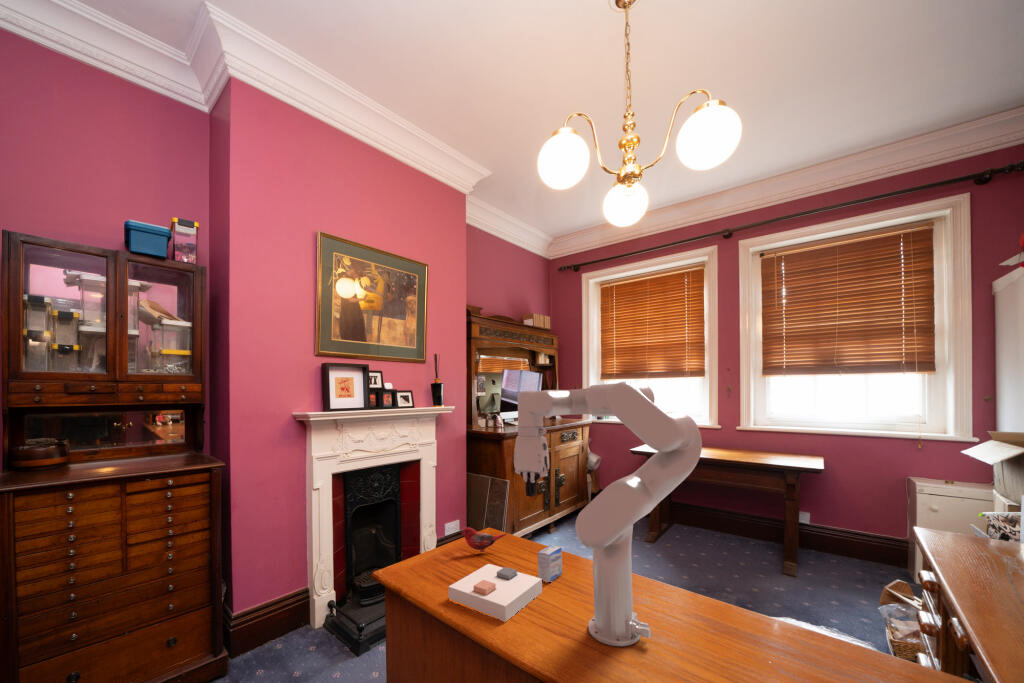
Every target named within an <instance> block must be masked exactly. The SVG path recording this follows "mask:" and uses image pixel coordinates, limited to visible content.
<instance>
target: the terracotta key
mask: <svg viewBox="0 0 1024 683" xmlns="http://www.w3.org/2000/svg"><path fill="white" fill-rule="evenodd" d="M495 590H496V584H495V583H492V582H489V581H486V580H482V581H480V582H479V583H477V584H476V585H474V592H476V593H479V594H482V595H484V596H487V595H489V594H490V593H492V592H493V591H495Z"/></svg>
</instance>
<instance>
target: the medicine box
mask: <svg viewBox="0 0 1024 683" xmlns="http://www.w3.org/2000/svg"><path fill="white" fill-rule="evenodd" d="M562 550H563V549H562V547H560V546H558V545H553V544H550V545H548V546H546V547H545V548H543V549H541V550H540V551H538V552H537V566H538V567H537V568H538V569H537V570H538V571H537V573H538V574H537V575H538V577H537V578H541V579H542V580H544V581H547V582H551V581H553V580H554V579H555V578H557V577H558V576H560V575H561V574H562V575H563V551H562ZM562 575H561V576H562ZM561 576H560V577H561ZM558 578H559V577H558ZM558 578H557V579H558ZM555 580H556V579H555ZM555 580H554V581H555ZM544 581H543V582H544ZM554 581H553V582H554ZM547 582H546V583H547ZM551 583H552V582H551Z"/></svg>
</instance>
